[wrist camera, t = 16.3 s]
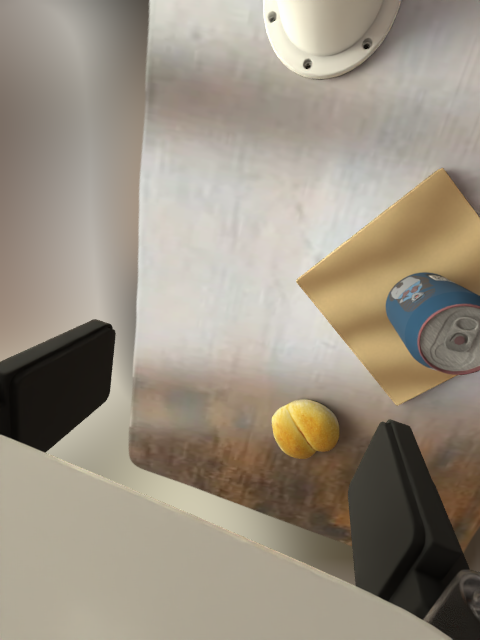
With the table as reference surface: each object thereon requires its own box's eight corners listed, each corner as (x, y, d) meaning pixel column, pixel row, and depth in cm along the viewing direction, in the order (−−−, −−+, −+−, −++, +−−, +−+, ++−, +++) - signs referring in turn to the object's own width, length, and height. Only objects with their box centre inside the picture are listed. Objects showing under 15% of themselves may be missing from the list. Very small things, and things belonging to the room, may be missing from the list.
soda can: (438, 337, 36) (489, 392, 25) (375, 322, 37) (396, 368, 26) (464, 278, 33) (534, 309, 22) (395, 264, 34) (429, 287, 23)
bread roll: (348, 435, 44) (351, 456, 40) (291, 454, 47) (289, 474, 43) (320, 387, 43) (320, 403, 39) (263, 409, 46) (258, 426, 42)
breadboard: (296, 279, 39) (295, 281, 38) (437, 169, 32) (443, 167, 31) (394, 399, 41) (396, 406, 39) (548, 319, 34) (558, 324, 32)
